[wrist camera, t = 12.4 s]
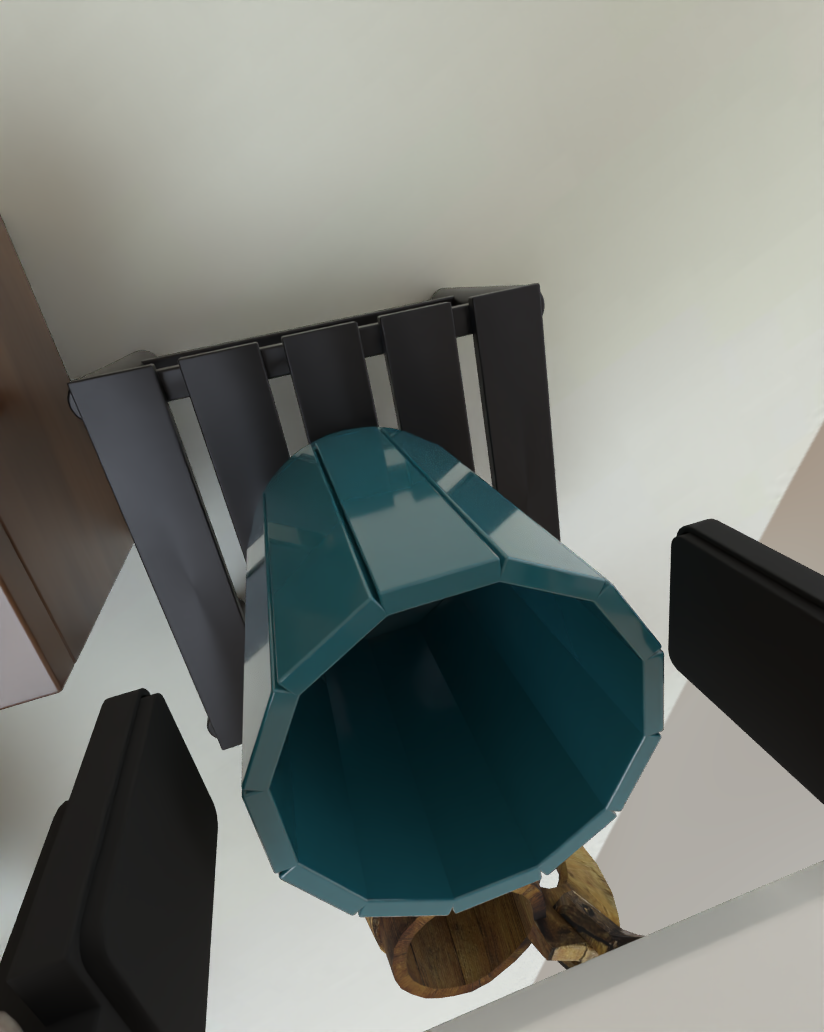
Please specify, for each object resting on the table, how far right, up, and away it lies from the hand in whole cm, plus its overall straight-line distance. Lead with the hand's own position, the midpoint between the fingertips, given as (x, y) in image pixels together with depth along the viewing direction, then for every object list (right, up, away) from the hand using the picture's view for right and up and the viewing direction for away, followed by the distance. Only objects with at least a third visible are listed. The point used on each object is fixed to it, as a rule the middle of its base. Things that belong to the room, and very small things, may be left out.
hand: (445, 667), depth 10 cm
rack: (-4, +5, +14) cm, 15 cm away
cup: (-2, +2, +7) cm, 7 cm away
